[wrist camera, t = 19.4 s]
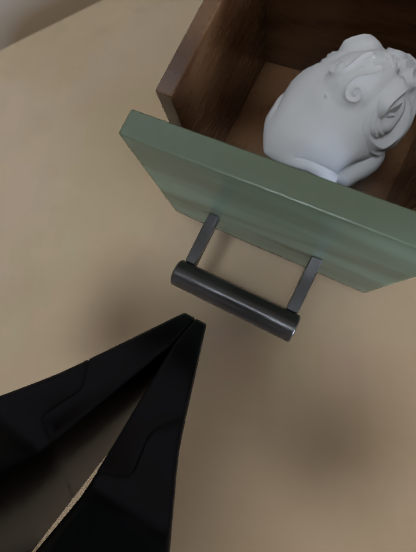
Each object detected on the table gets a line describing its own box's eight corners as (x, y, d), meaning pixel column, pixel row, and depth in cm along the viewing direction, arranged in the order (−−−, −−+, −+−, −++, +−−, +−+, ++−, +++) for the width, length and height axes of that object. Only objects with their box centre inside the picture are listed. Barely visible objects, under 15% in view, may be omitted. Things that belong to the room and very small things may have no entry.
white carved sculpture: (398, 183, 18) (483, 92, 11) (284, 233, 18) (297, 177, 11) (348, 101, 19) (396, -26, 12) (244, 150, 20) (234, 56, 13)
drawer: (333, 364, 18) (398, 398, 9) (145, 270, 20) (64, 231, 12) (447, 113, 19) (596, -59, 10) (253, 59, 22) (248, -110, 13)
